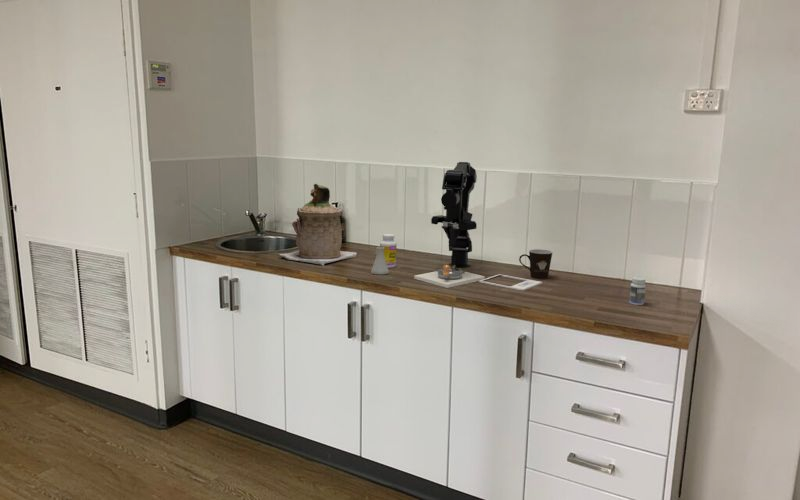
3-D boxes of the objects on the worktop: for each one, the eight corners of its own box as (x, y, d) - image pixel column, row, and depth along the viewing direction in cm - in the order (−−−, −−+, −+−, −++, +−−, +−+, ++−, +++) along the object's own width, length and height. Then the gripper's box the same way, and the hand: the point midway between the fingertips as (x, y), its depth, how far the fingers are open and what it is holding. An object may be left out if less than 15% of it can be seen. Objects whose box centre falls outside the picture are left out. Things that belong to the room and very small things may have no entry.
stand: (451, 271, 242) (451, 265, 242) (484, 279, 230) (484, 273, 229) (414, 278, 229) (414, 272, 229) (447, 287, 217) (447, 281, 216)
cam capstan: (442, 270, 236) (442, 256, 235) (465, 272, 234) (466, 258, 233) (433, 280, 221) (433, 265, 220) (458, 282, 219) (458, 267, 218)
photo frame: (523, 288, 215) (479, 280, 226) (522, 292, 215) (478, 283, 226) (542, 281, 226) (499, 273, 237) (542, 284, 226) (499, 276, 237)
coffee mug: (552, 276, 237) (554, 250, 235) (548, 280, 230) (550, 254, 228) (522, 272, 242) (524, 247, 240) (517, 277, 234) (518, 251, 232)
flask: (387, 275, 233) (387, 249, 231) (368, 274, 235) (368, 248, 233) (391, 271, 240) (391, 246, 238) (373, 270, 242) (373, 245, 240)
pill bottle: (626, 301, 204) (628, 276, 202) (640, 301, 204) (642, 276, 203) (632, 305, 199) (635, 280, 198) (646, 305, 200) (649, 280, 198)
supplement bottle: (389, 268, 245) (389, 236, 242) (376, 266, 249) (376, 234, 246) (399, 266, 250) (400, 234, 247) (386, 263, 254) (387, 232, 251)
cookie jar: (359, 256, 267) (359, 182, 261) (323, 266, 247) (322, 186, 240) (315, 250, 280) (314, 179, 274) (277, 259, 259) (275, 182, 253)
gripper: (487, 205, 229) (485, 246, 233) (451, 199, 243) (449, 238, 246) (466, 207, 222) (465, 250, 226) (430, 202, 236) (429, 242, 239)
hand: (452, 244), depth 234 cm, fingers closed
